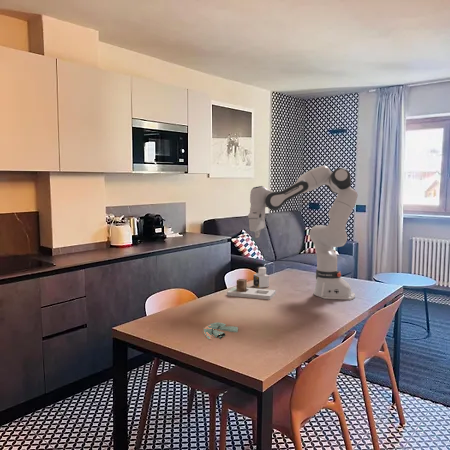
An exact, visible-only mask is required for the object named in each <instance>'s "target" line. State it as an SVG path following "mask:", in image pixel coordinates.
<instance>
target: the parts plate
mask: <svg viewBox="0 0 450 450" xmlns="http://www.w3.org/2000/svg"><path fill="white" fill-rule="evenodd" d="M276 294H277V290H276V289H267V288H266V289H265V288H258V287H255V288H254V287H247V291H246V292H237V286H233V287H232V288H230V289H229V290H228V291H227V292H226V296H228V297H229V296H231V297H239V298H247V299H248V298H249V299H260V300H268V301H269V300H272V299H273V297H274V296H275V295H276Z"/></svg>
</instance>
